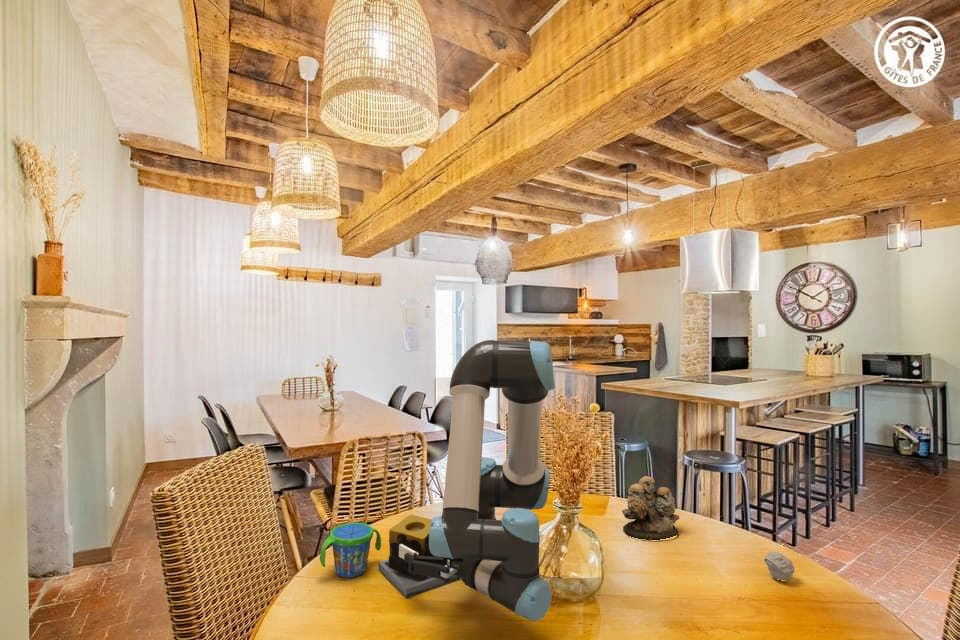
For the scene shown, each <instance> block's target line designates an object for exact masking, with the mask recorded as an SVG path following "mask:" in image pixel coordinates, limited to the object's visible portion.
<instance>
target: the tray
mask: <svg viewBox="0 0 960 640" xmlns="http://www.w3.org/2000/svg"><path fill="white" fill-rule="evenodd" d="M447 567H448V568H450V560H447ZM377 569H378V570H379V571H380V572H381V573H382V574H383V575H382V576H383V577H384V578H385V579H386V580H387V581H388V582H389V583H390V584H391V585H392V586H393V588H395V589H396V590H397V591H398V592H399V593H400V594H401V595H402V597H404V598H405V599H407V598H410V597H413V596H416V595H420V594H422V593H424V592H427V591H431V590H433V589H435V588H439V587H441V586H445V585H447V584H450V583H452V582H456V581H458V580H462V579H461V577H460V576H457V575H451V576H450V580H449V581H448V582H445V581H443V580H441V579H438V578H433V577H427V576H425V577H423V578H419V577H415V576H413V575H409V574H406V573H403V572H400V571H397V570H394V569H391V568H389V559H386V560H382V561H378V566H377ZM378 570H377V571H378ZM379 571H378V572H379ZM380 572H379V573H380ZM381 573H380V574H381Z"/></svg>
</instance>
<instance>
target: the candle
mask: <svg viewBox="0 0 960 640" xmlns="http://www.w3.org/2000/svg"><path fill="white" fill-rule="evenodd" d="M432 519H433V518H432ZM432 519H431V518H427V517H423V516H418V515H415V514H409V515H407V516H406V517H405V518H403V519H402V520H401V521H400V522H398V523H396V524H395V525H393V526H392V527H390V529H389V533H388V536H389V538H388V543H389V555H388V560H389V568H391V569H394V570H397V571H400V572H403V573H406V574H409V575H413V576H415V577H419V578H423V577H425V576H422V575H417V574H412V573H409V563H407V562H405V561H404V559H402V558H401V557H399V545H400V544H403V545H405V546H406V547H408V548H410V549H412V550H414V551H415V552H417V553H419V556H431V557H438V556H433V555H432V553H431V552H430V549H429V532H430V527H431V522H432Z"/></svg>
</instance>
